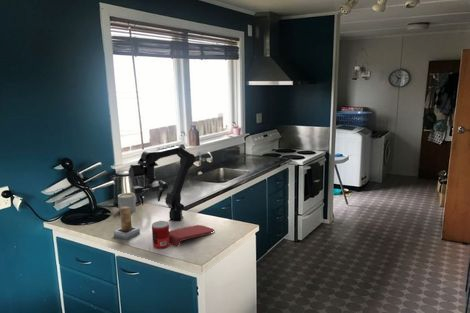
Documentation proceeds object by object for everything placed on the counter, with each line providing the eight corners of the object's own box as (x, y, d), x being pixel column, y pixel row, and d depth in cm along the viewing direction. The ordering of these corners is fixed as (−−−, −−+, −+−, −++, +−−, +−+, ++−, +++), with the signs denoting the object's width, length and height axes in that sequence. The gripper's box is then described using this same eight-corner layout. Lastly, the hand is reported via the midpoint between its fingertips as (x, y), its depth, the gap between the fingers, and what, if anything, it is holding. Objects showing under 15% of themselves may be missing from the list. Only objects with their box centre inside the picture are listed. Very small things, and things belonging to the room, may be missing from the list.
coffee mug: (126, 214, 219) (125, 198, 218) (115, 211, 225) (114, 195, 223) (143, 208, 230) (142, 193, 228) (132, 205, 236) (131, 190, 234)
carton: (199, 233, 200) (162, 241, 181) (200, 224, 200) (163, 231, 181) (215, 239, 192) (179, 247, 173) (216, 229, 192) (180, 237, 173)
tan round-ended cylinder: (132, 230, 191) (131, 206, 189) (130, 233, 186) (129, 209, 184) (123, 230, 191) (121, 206, 188) (120, 234, 186) (119, 209, 183)
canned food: (172, 243, 178) (171, 221, 176) (164, 250, 170) (163, 227, 168) (158, 241, 180) (157, 220, 178) (149, 248, 173) (148, 225, 171)
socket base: (127, 230, 195) (126, 225, 194) (139, 233, 190) (139, 228, 190) (114, 236, 187) (113, 230, 186) (126, 239, 182) (126, 234, 182)
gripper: (138, 180, 184) (139, 210, 186) (172, 175, 194) (173, 203, 197) (130, 176, 192) (131, 205, 195) (162, 171, 203) (164, 198, 206)
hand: (150, 203), depth 198 cm, fingers open, 9 cm apart
